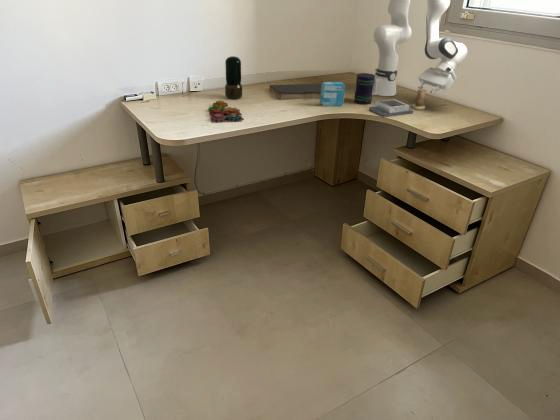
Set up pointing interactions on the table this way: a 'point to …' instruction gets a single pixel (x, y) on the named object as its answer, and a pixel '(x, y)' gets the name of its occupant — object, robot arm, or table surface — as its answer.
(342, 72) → the table surface
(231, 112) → the gear puzzle
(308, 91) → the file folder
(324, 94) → the data package
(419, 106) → the tan upright cylinder
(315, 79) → the table surface
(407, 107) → the carrier plate
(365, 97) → the storage jar
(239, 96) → the dark green cactus pot
